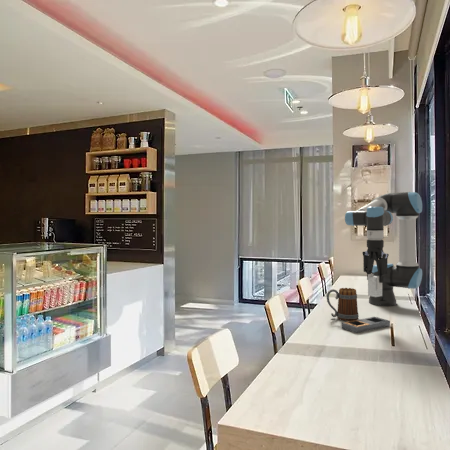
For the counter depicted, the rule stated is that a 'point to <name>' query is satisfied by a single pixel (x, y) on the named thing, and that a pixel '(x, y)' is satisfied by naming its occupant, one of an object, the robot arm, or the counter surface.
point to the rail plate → (365, 324)
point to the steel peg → (373, 287)
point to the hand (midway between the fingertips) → (375, 288)
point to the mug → (345, 304)
